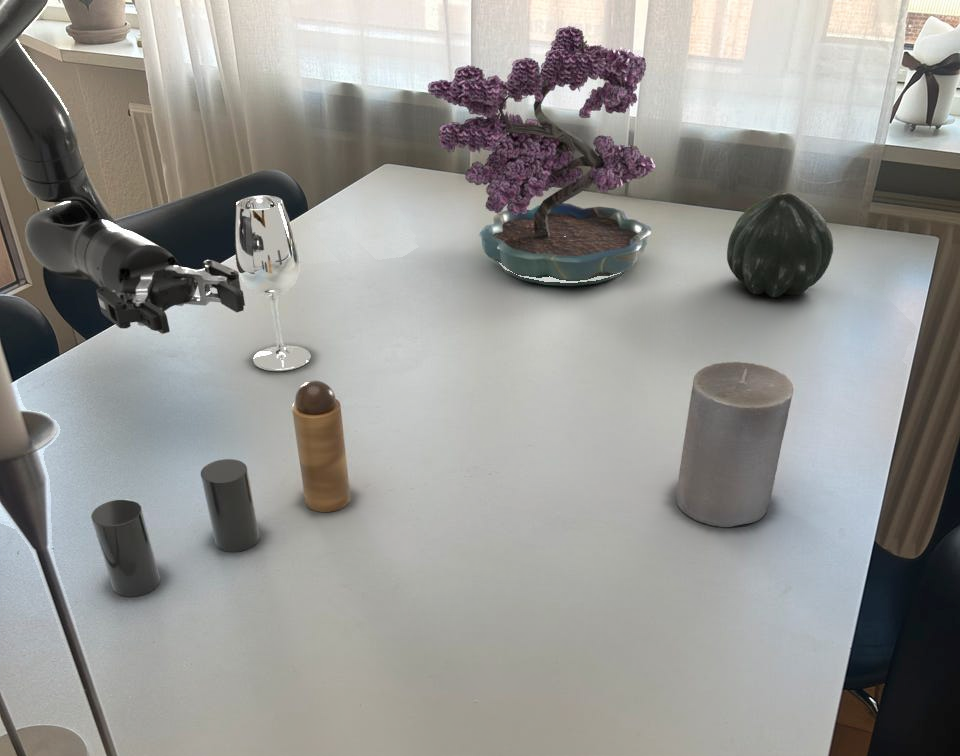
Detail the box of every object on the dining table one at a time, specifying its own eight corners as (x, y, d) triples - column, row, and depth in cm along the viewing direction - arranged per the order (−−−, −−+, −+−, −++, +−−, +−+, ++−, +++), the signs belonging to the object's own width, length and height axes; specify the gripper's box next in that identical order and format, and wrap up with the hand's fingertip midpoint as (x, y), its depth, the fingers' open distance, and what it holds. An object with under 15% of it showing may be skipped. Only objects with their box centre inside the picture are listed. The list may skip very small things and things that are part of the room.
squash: (806, 227, 155) (766, 157, 145) (866, 263, 145) (826, 190, 135) (736, 295, 159) (691, 232, 148) (789, 335, 148) (745, 270, 138)
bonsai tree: (637, 232, 170) (658, 8, 149) (671, 293, 149) (700, 43, 128) (432, 239, 168) (423, 13, 147) (437, 301, 148) (427, 49, 127)
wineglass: (242, 368, 131) (215, 209, 118) (267, 344, 137) (244, 190, 124) (297, 375, 129) (275, 215, 116) (320, 350, 135) (302, 195, 122)
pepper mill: (321, 517, 104) (306, 398, 95) (296, 499, 107) (279, 381, 98) (359, 501, 106) (347, 383, 98) (333, 483, 109) (320, 367, 100)
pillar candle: (692, 471, 110) (711, 341, 101) (779, 492, 107) (808, 360, 97) (662, 514, 104) (679, 380, 94) (754, 538, 100) (782, 402, 91)
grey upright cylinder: (229, 557, 99) (214, 487, 93) (207, 538, 101) (192, 469, 96) (267, 540, 101) (255, 471, 96) (245, 522, 103) (232, 454, 98)
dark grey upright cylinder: (125, 602, 93) (103, 531, 88) (105, 581, 96) (83, 511, 91) (168, 584, 95) (149, 513, 90) (147, 563, 98) (128, 493, 93)
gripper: (62, 250, 106) (130, 293, 96) (184, 222, 113) (258, 259, 103) (80, 319, 111) (147, 367, 101) (196, 288, 118) (268, 329, 108)
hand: (203, 312), depth 102 cm, fingers open, 8 cm apart
